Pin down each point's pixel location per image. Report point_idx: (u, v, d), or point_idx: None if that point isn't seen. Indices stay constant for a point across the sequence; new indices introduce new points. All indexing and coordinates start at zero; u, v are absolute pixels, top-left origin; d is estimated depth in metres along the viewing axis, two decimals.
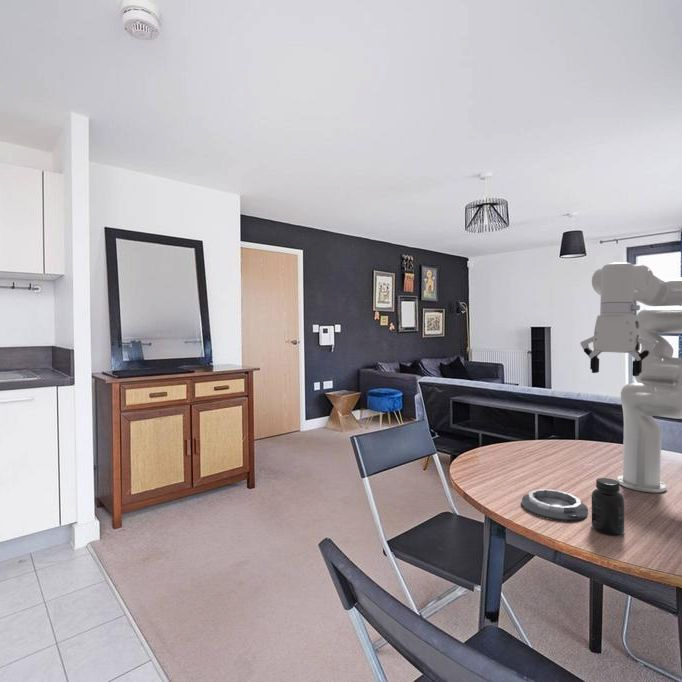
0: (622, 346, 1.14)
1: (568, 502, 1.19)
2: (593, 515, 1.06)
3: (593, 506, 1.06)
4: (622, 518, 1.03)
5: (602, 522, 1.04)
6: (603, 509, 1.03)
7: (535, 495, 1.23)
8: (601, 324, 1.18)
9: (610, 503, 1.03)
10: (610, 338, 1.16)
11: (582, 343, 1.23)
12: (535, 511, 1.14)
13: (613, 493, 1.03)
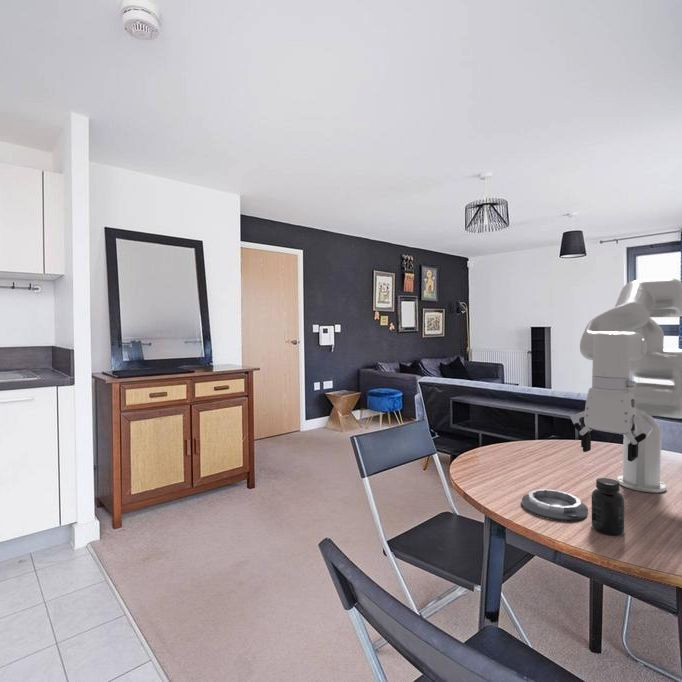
0: (616, 427, 1.02)
1: (568, 502, 1.19)
2: (593, 515, 1.06)
3: (593, 506, 1.06)
4: (622, 518, 1.03)
5: (602, 522, 1.04)
6: (603, 509, 1.03)
7: (535, 495, 1.23)
8: (593, 399, 1.05)
9: (610, 503, 1.03)
10: (603, 416, 1.04)
11: (572, 417, 1.11)
12: (535, 511, 1.14)
13: (613, 493, 1.03)
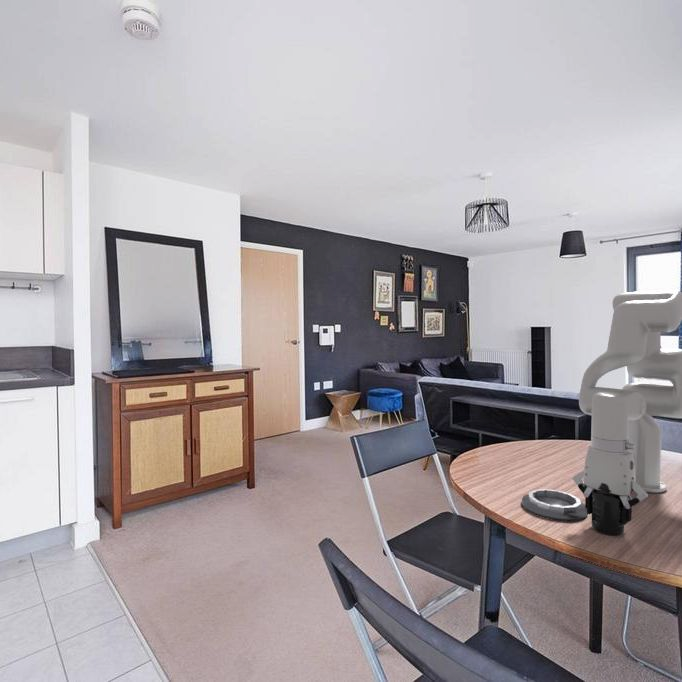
0: (615, 488, 1.02)
1: (568, 502, 1.19)
2: (593, 515, 1.06)
3: (593, 506, 1.06)
4: None
5: (602, 522, 1.04)
6: (603, 509, 1.03)
7: (535, 495, 1.23)
8: (592, 459, 1.06)
9: (610, 503, 1.03)
10: (602, 476, 1.04)
11: (574, 478, 1.11)
12: (535, 511, 1.14)
13: None
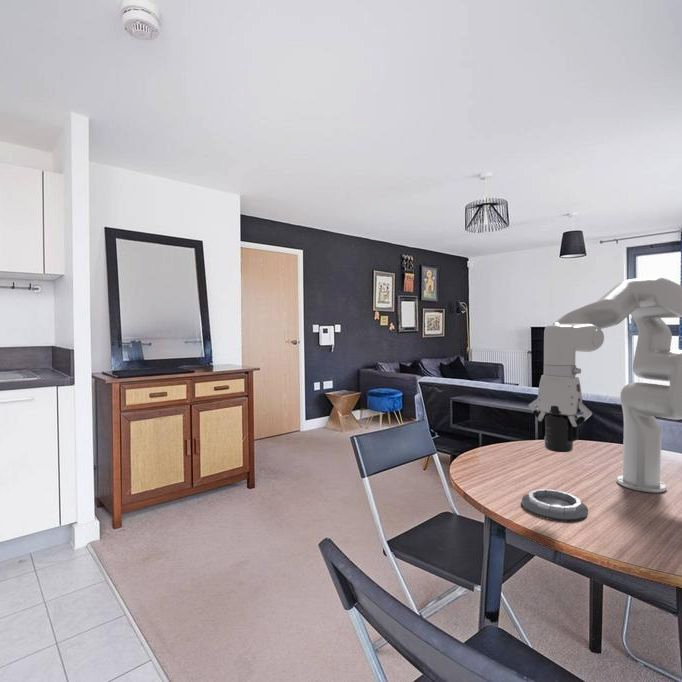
0: (564, 409, 1.14)
1: (568, 502, 1.19)
2: (545, 436, 1.17)
3: (545, 428, 1.17)
4: None
5: (552, 441, 1.15)
6: (553, 429, 1.15)
7: (535, 495, 1.23)
8: (544, 385, 1.17)
9: (560, 423, 1.14)
10: (553, 400, 1.16)
11: (530, 405, 1.22)
12: (535, 511, 1.14)
13: None
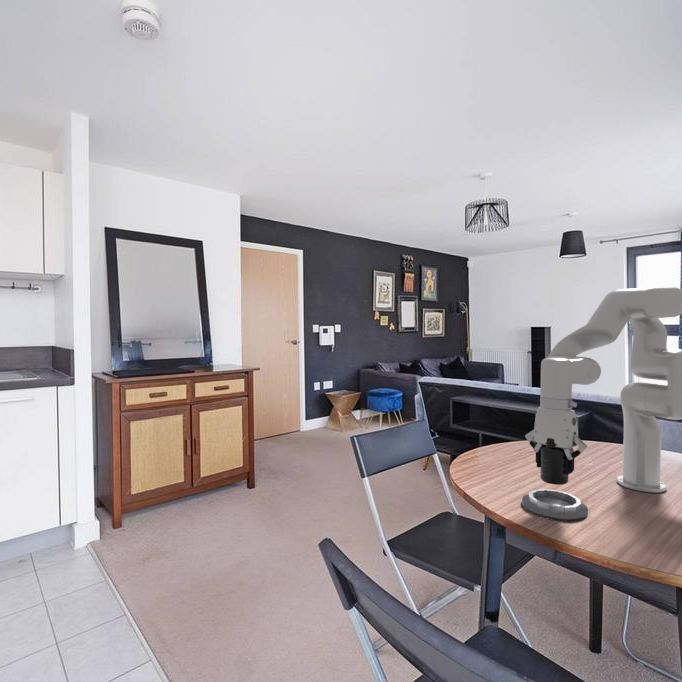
0: (560, 442, 1.15)
1: (568, 502, 1.19)
2: (541, 467, 1.18)
3: (541, 459, 1.18)
4: None
5: (548, 473, 1.16)
6: (549, 461, 1.16)
7: (535, 495, 1.23)
8: (540, 417, 1.18)
9: (555, 455, 1.15)
10: (549, 432, 1.17)
11: (526, 436, 1.23)
12: (535, 511, 1.14)
13: None
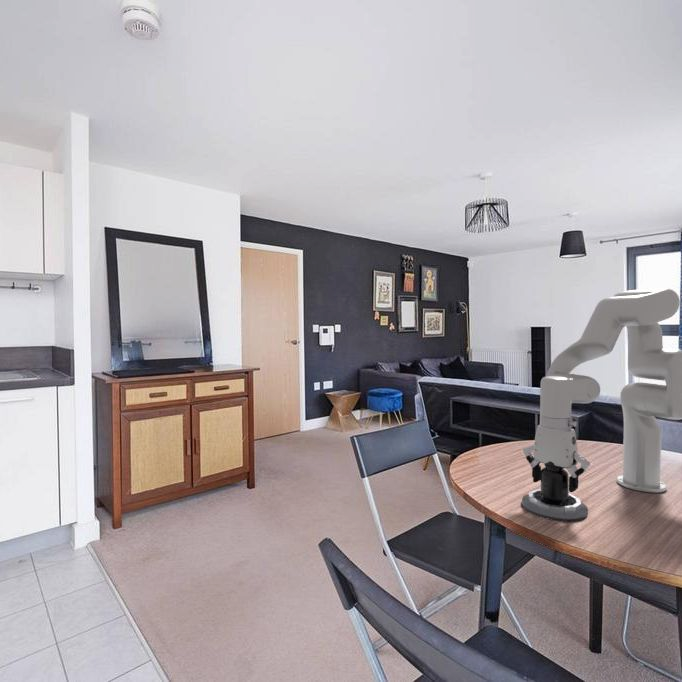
0: (559, 461, 1.15)
1: None
2: (541, 490, 1.19)
3: (541, 482, 1.19)
4: (566, 492, 1.16)
5: (548, 496, 1.16)
6: (549, 484, 1.16)
7: (535, 495, 1.23)
8: (540, 436, 1.19)
9: (555, 479, 1.15)
10: (549, 451, 1.17)
11: (524, 450, 1.24)
12: (535, 511, 1.14)
13: (558, 470, 1.16)
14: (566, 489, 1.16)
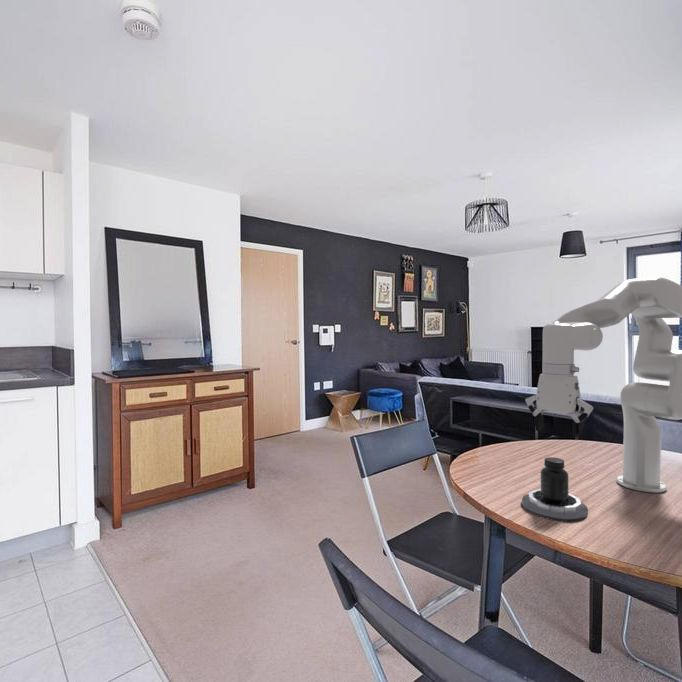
0: (562, 407, 1.15)
1: None
2: (541, 490, 1.19)
3: (541, 482, 1.19)
4: (566, 492, 1.16)
5: (548, 496, 1.16)
6: (549, 484, 1.16)
7: (535, 495, 1.23)
8: (542, 384, 1.18)
9: (555, 479, 1.15)
10: (551, 398, 1.17)
11: (527, 400, 1.23)
12: (535, 511, 1.14)
13: (558, 470, 1.16)
14: (566, 489, 1.16)
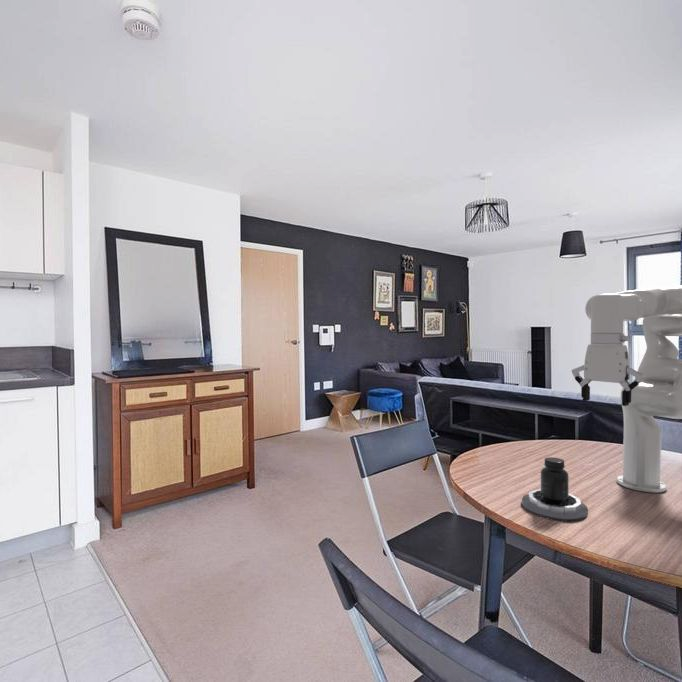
0: (612, 376, 1.16)
1: None
2: (541, 490, 1.19)
3: (541, 482, 1.19)
4: (566, 492, 1.16)
5: (548, 496, 1.16)
6: (549, 484, 1.16)
7: (535, 495, 1.23)
8: (591, 354, 1.19)
9: (555, 479, 1.15)
10: (600, 368, 1.18)
11: (573, 371, 1.25)
12: (535, 511, 1.14)
13: (558, 470, 1.16)
14: (566, 489, 1.16)
